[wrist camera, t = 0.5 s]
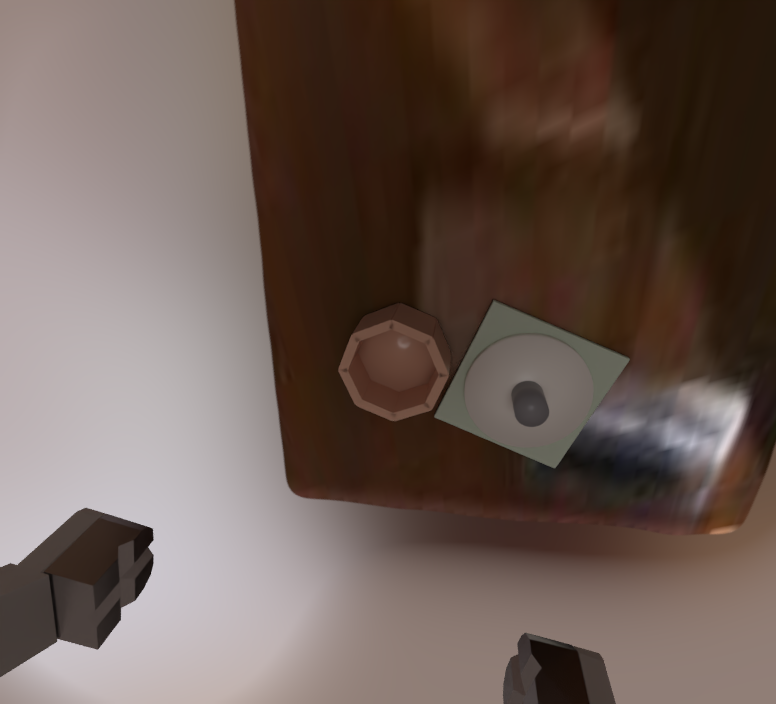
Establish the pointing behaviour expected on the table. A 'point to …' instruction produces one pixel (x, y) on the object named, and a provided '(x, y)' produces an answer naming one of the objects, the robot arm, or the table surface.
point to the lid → (528, 390)
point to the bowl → (396, 362)
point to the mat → (512, 321)
